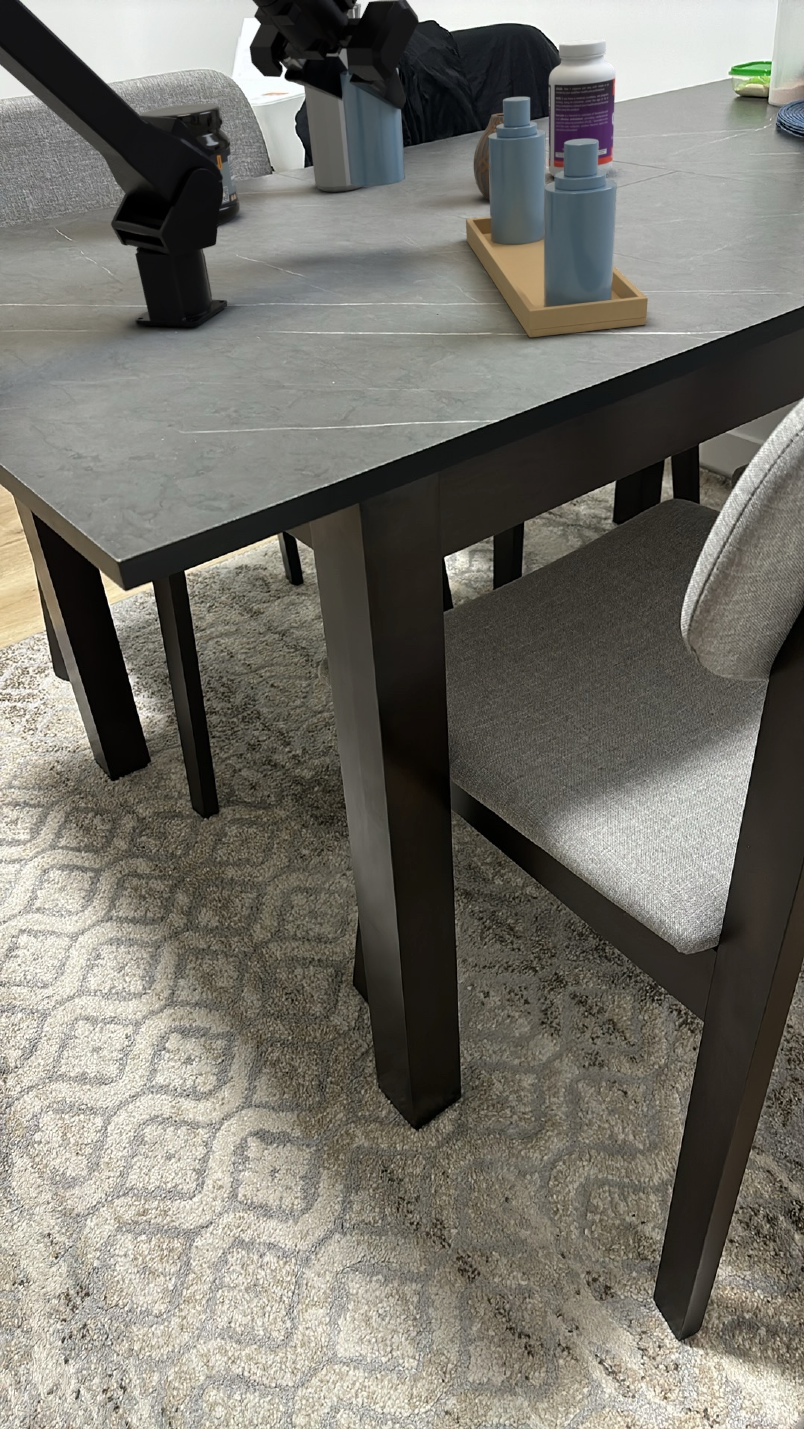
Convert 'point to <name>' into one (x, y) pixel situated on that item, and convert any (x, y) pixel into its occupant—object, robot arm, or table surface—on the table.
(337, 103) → the water bottle
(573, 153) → the bottle
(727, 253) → the table surface
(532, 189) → the bottle
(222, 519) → the table surface
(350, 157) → the loose bottle
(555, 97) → the pill bottle
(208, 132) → the supplement container
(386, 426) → the table surface
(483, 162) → the vase
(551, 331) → the tray
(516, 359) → the table surface
